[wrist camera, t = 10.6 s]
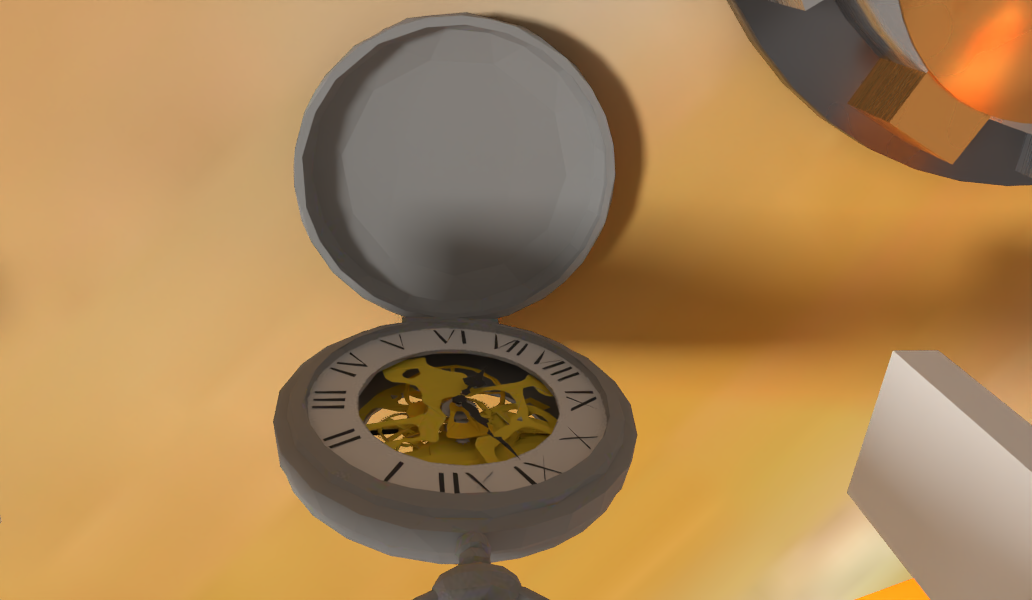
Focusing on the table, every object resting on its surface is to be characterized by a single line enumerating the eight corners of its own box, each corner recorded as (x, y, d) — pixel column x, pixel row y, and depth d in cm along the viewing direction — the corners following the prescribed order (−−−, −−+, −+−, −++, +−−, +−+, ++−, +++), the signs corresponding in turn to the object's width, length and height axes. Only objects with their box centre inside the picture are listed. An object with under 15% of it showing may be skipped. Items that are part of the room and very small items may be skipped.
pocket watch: (517, -57, 15) (680, 2, 6) (679, 277, 19) (923, 611, 10) (169, 152, 16) (-128, 468, 7) (392, 429, 20) (380, 858, 11)
